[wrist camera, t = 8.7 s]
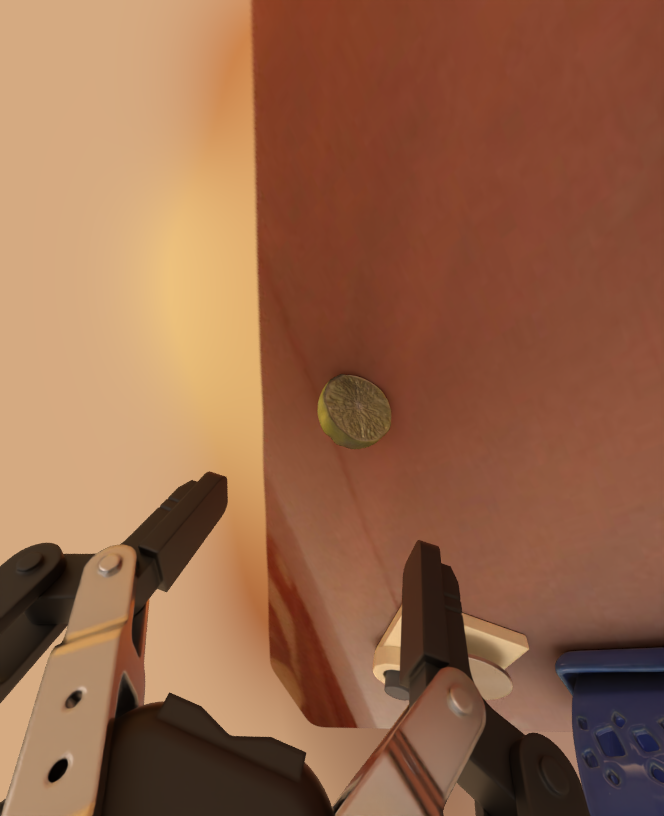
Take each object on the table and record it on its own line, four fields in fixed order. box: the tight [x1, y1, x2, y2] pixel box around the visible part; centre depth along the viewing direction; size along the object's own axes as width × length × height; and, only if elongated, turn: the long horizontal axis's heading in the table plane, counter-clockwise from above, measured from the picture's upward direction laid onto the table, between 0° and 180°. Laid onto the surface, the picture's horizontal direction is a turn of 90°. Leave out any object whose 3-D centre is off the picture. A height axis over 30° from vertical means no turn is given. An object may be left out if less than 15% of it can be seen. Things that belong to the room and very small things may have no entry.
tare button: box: [385, 670, 409, 700], centre depth 33 cm, size 3×3×2 cm
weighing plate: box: [468, 653, 513, 700], centre depth 29 cm, size 8×8×1 cm
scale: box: [373, 605, 529, 684], centre depth 32 cm, size 14×12×3 cm
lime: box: [317, 374, 391, 449], centre depth 19 cm, size 4×5×5 cm
